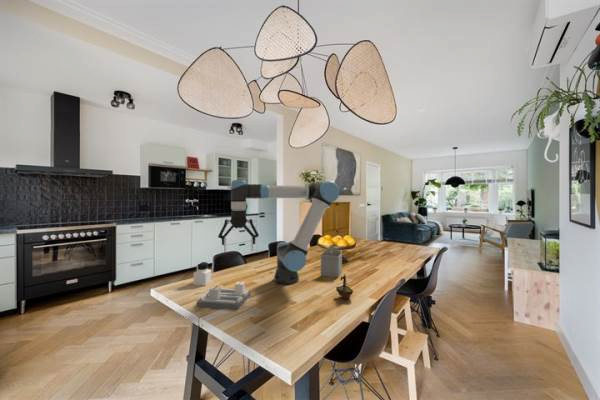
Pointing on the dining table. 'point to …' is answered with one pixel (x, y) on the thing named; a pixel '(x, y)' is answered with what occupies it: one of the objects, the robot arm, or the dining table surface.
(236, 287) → the white taped box
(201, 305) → the grey compartment tray
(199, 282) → the medicine bottle
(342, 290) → the figurine
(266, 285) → the dining table surface
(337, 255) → the planter
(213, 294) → the fader
